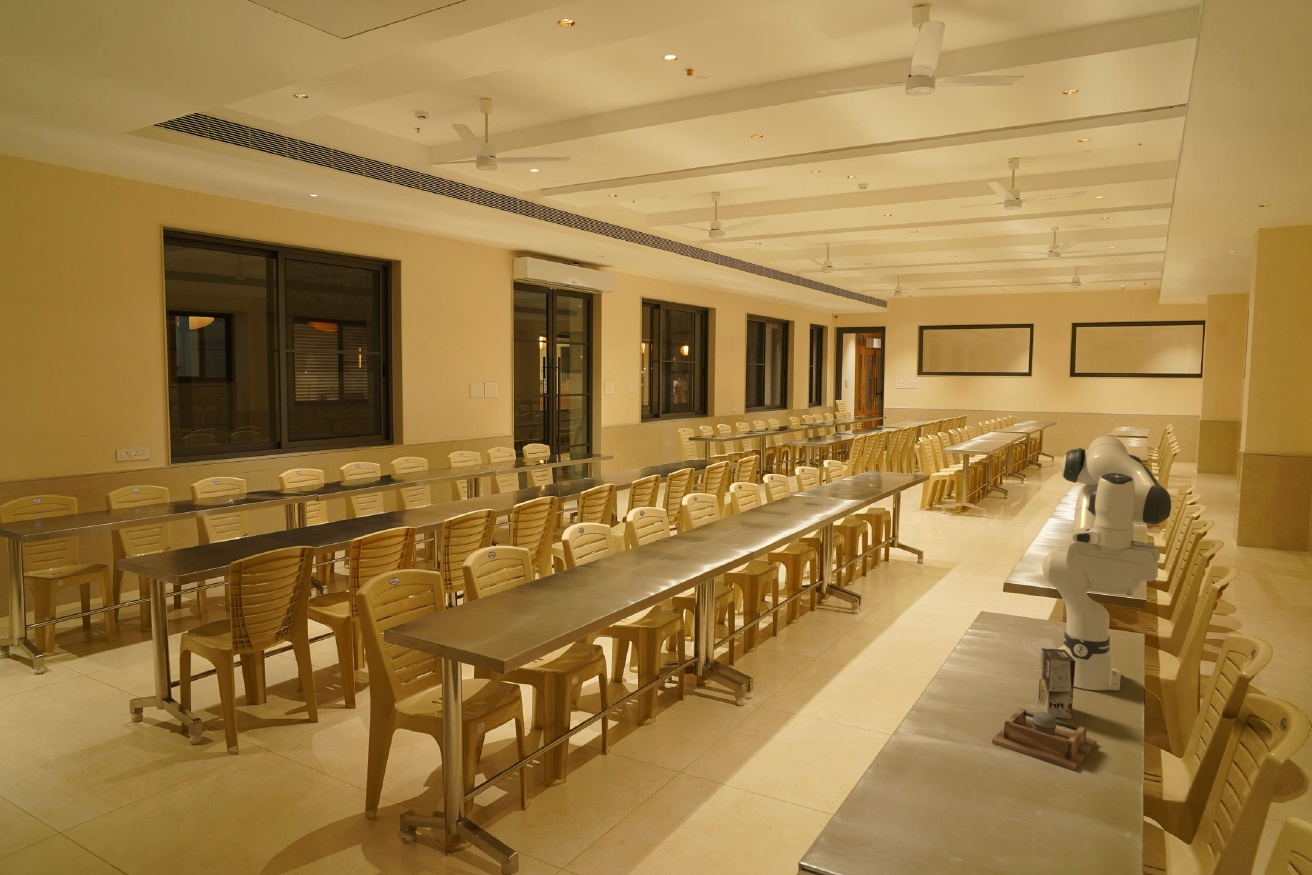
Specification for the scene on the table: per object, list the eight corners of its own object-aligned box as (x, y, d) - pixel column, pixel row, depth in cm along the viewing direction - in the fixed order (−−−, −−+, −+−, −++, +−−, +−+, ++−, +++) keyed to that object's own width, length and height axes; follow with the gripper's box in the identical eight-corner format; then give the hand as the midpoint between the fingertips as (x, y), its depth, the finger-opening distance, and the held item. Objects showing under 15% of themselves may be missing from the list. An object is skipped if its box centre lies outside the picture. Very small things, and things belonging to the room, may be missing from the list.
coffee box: (1072, 719, 206) (1076, 661, 205) (1046, 716, 207) (1050, 659, 206) (1062, 704, 215) (1065, 648, 214) (1037, 702, 216) (1040, 646, 215)
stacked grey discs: (1035, 731, 197) (1036, 709, 196) (1058, 739, 193) (1059, 716, 192) (1028, 739, 193) (1029, 716, 192) (1051, 746, 189) (1052, 723, 188)
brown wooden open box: (1017, 719, 206) (1018, 701, 205) (1096, 744, 193) (1097, 724, 192) (991, 742, 193) (993, 723, 192) (1075, 770, 180) (1076, 750, 179)
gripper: (1163, 542, 190) (1159, 597, 192) (1072, 529, 204) (1069, 580, 206) (1157, 546, 186) (1153, 602, 187) (1065, 533, 200) (1062, 585, 201)
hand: (1108, 591), depth 197 cm, fingers open, 8 cm apart
